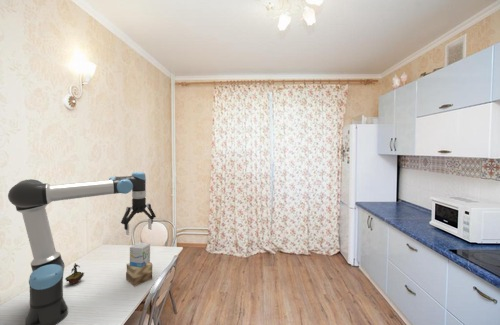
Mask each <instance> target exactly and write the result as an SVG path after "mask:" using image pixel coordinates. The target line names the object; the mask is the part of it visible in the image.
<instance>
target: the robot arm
mask: <svg viewBox="0 0 500 325" xmlns="http://www.w3.org/2000/svg"><path fill="white" fill-rule="evenodd" d="M146 181H147V178H146V173H145V172H143V171H142V172H141V171H139V172H137V171H136V172H132V173H131V175H129V176H128V175H126V176H110V177H109V178H108V179H106V180H95V181H84V182H83V181H81V182H73V183H72V182H71V183H61V184H49V183H43V182H41V181H40V180H38V179H25V180H20V181H19V182H17V183H16V184H15V185H13V186H12V187H11V188H10V189H9V191H8V195H7V198H8V200H9V202H10V203H11V204H12V205H13V206H15V209H16V212H18V213H21V214H22V218H23V223H24V227H25V230H26V231H25V232H26V234H27V238H28V243H29V245H30V249H31V253H32V257H33V259H32V260H31V262H30V267H31V271H32V272H31V273H30V275H29V278H28V284H29V310H28V312H27V315H26V318H25V321H24V325H57V324H58V323H60V322H62V320H64V319H65V318H66V317H67V316H68V313H69V308H68V305H67V303H66V301H65V298H64V285H63V284H64V272H65V262H64V260H63V258H62V254H61V252H58V251H56V247H55V243H54V238H53V233H52V230H51V226H50V222H49V219H48V213H47V208H46V207H47V206H48V205H50V204H51V203H52V202H58V201H65V200H66V201H67V200H72V199H73V200H74V199H81V198H91V197H99V196H106V195H113V194H114V195H115V194H116V195H117V194H122V195H123V194H124V195H125V194H130V192H131V197H132V199H131V205H132V206H126V208H125V209H126V210H125V212H124V215H123V216H122V219H121V221H120V223H121V224H122V225H124V230H125V235H127V236H130V221H131V220H132V219H133V218H134V216H135V215H136V214H140V213H144V214H145V215H146V216H147V217H148V219H147V222H148V223H147V225H148V226H147V228H148V230H149V231H150V230H153V229H152V228H153V227H152V224H154V219H155V218H156V217H157V216H156V213H155V212H154V211H153V208H152V205H151V203H146V202H147V199H146V195H147V194H146V192H147V191H146V190H147V189H146V188H147V187H146V184H147V182H146ZM146 208H147V210H148V211H149V212H148V211H147V210H146Z"/></svg>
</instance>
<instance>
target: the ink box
mask: <svg viewBox="0 0 500 325" xmlns="http://www.w3.org/2000/svg"><path fill="white" fill-rule="evenodd" d="M148 262H151V243H148V242H140V241H139V242H136V243H135V244H133V245H131V246H129V263H130V266H135V267H143V266H144V265H146V264H147V263H148Z"/></svg>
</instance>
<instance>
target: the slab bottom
mask: <svg viewBox="0 0 500 325" xmlns="http://www.w3.org/2000/svg"><path fill="white" fill-rule="evenodd" d="M125 280H126V281H127V282H128V283H129V284H131V285H132V286H133V287H136V286H138V285H141V284H143V283H144V284H145V282H148V281H151V280H153V271H152V272H150V273H148V274H145V275H142V276H139V277H137V278H133V277H132V276H131V275H129V274H128V273H127V271H126V272H125Z"/></svg>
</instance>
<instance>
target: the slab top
mask: <svg viewBox="0 0 500 325" xmlns="http://www.w3.org/2000/svg"><path fill="white" fill-rule="evenodd" d="M126 272H127V273H128V274H129V275H131V276H132V277H133V278H137V277H139V276H142V275H145V274H148V273H150V272H152V273H153V263H152V262H151V261H150V262H148V263H147V264H146V265H144V266H143V267H135V266H130V262H128V263H126Z"/></svg>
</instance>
